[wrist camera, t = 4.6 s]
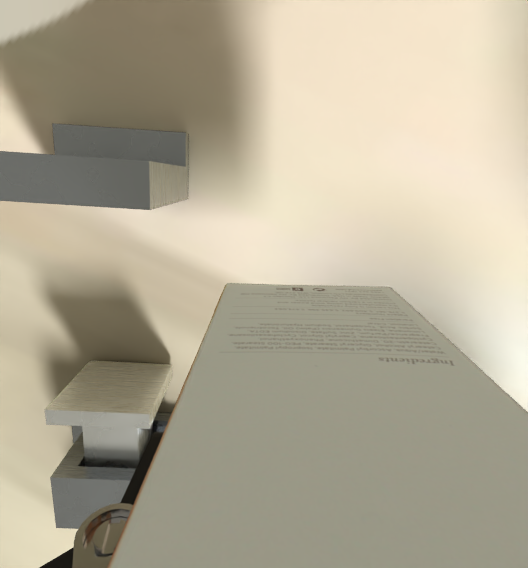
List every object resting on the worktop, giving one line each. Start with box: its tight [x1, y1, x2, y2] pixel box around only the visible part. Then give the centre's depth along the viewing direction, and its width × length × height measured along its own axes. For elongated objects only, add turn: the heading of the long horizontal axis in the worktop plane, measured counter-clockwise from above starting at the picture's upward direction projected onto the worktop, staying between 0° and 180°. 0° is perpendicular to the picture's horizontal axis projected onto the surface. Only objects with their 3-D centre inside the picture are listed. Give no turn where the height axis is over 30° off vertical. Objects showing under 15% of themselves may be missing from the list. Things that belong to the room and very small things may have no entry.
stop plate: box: [0, 124, 189, 210], centre depth 20 cm, size 8×4×9 cm, turn 86°
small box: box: [107, 283, 528, 568], centre depth 9 cm, size 8×6×13 cm
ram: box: [45, 361, 172, 469], centre depth 26 cm, size 6×14×6 cm, turn 176°
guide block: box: [50, 412, 172, 529], centre depth 27 cm, size 9×5×6 cm, turn 86°
